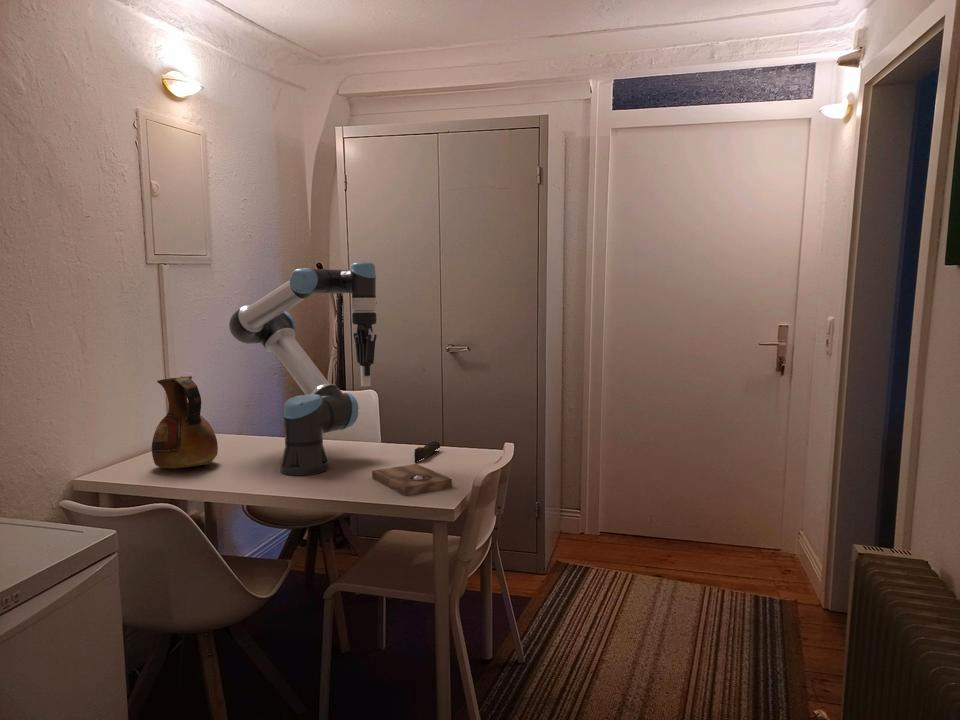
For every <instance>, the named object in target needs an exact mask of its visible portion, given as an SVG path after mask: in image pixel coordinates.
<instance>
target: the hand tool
mask: <svg viewBox="0 0 960 720" xmlns="http://www.w3.org/2000/svg"><path fill="white" fill-rule="evenodd" d="M438 448H440V449H441V444H440V442H439V441H435V440H432V441H430V442H429V443H428V444H425V445H423V447H422V446H421V447H420V446H418V447H417V448H415V449H414V452H413V453H414V456H413V457H414V463H415V462H417V461H419V460H421V459H423V458H425V459H426V458H427V457H429V456H430V455H432V454H434V453H435V452H434V451H435V450H436V449H438ZM433 452H434V453H433ZM431 453H432V454H431ZM428 455H429V456H428ZM426 456H427V457H426ZM417 463H418V462H417Z"/></svg>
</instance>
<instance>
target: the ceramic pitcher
mask: <svg viewBox="0 0 960 720" xmlns="http://www.w3.org/2000/svg"><path fill="white" fill-rule="evenodd" d="M156 382H157V383H158V384H159V385H160V386H161V387H162V388H163V389H164V391H165V393H166V398H167V401H168V402H167V403H168V410H167V414H166V415H165V416H164V417H163V418H162V419H161V420H160V421H159V422H158V425H157V426H156V428H155V431H154V434H153V437H152V442H151V455H152V459H153V463H154V465H155V466H156V467H159V468H165V469H185V468H190V467H191V468H192V467H198V466H202V465H208V464H211V463H212V462H213V461H214V460H215V458H216V457H217V455H218V448H219V447H218V439H217V436H216V433H215V431H214V429H213V428H212V426H211V424H210V423H209V422H208V420H207V419H205V418H204V417H203V415H201V411H202V396H201V394H200V390H199V387H198V385H197V384H196V382H195V381H194V380H193V376H192V375H188V376H182V375H181V376H179V377H174V378H173V377H171V378H164V379H160V380H156Z"/></svg>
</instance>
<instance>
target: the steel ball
mask: <svg viewBox="0 0 960 720" xmlns="http://www.w3.org/2000/svg"><path fill="white" fill-rule="evenodd" d="M413 479H414V480H419V479H423V477H422V476H420V475H417V476H415V477H414V478H413Z"/></svg>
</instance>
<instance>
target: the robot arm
mask: <svg viewBox="0 0 960 720" xmlns="http://www.w3.org/2000/svg"><path fill="white" fill-rule="evenodd" d="M376 278H377V274H376V266H375V264H374V263H373V262H366V261H365V262H352V263H351V265H350V269H326V268H325V269H324V268H322V269H321V268H309V267H303V268H296V269H295V270H293V271H292V272H291V274H290V276H289V280H288V281H286V282H284V283H283V284H281V285H280V286H278V287H277V288H275V289H274V290H272V291H271V292H269V293H268V294H266V295H265V296H263V297H261V298H260V299H258V300H257V301H255V302H253V303H252V304H251V305H249V304H247V305H246V304H245V305H243V306H242V307H240V308H238V309H237V310H236V311H235V312H234V313H232V315H231V316H230V319H229V325H228V328H229V331H230V333H231V335H232V336H233V338H234V339H236V340H237V341H238V342H240V343H242V344H249V345H250V344H251V345H252V344H261V345H262V346H263V347H264V349H265V350H266V351H267V352H268V353H273V354H274V355H275V356H276V357H277V359H278V360H279V361H280V362H281V364H282V365H283V367H284V368H285V369H286V371H287V372H288V373H289V375H290V377H291V378H292V379H293V380H294V382H295V383H296V384H297V385H298V386H299V389H300V390H301V391H302V392H303V394H300V395H296V396H294V397H293V396H292V397H290V398H289V399H287V400H285V402H284V405H283V406H284V407H283V419H284V420H283V423H284V449H283V454H282V457H281V460H280V465H279V469H280V470H279V471H280V473H281V474H284V475H289V476H309V475H310V476H311V475H316V474H317V475H318V474H320V473H324V472H326V471H328V470H329V469H330V460H329V458H328V456H327V453H326V449H325V447H324V441H323V440H324V438H323V437H324V435H323V434H326V433H331V432H335V431H341V430H345V429H347V428H351V427H352V426H353V425H354V424H355V423H356V422H357V420H358V417H359V408H360V407H359V404H358V401H357V398H356V397H355V396H354V395H353V394H352V393H348V392H343V391H342V390H341V389H340V388H339V387H338V385H337V384H334V383H330V382H329V381H328V380H327V379H326V377H325V376H324V374H323V373H322V372H321V370H319V369H320V368H318V367H317V365H316V364H315V363H314V362H313V360H312V359H311V358H310V356H309V355H308V354H307V352H306V351H305V350H304V349H303V347H302V346H301V345H300V343H299V342H298V340H297V339H296V325H295V321H294V318H293V317H292V315H291V314H290V313H289V312H288V310H290V309H292V308H293V307H294V306H296V305H298V304H300V303H301V302H303V301H304V300H306V299H308V298H309V297H311V296H312V295H314V294H333V295H335V294H336V295H338V294H351V311H353V312H352V316H351V317H352V319H351V320H352V322H351V323H352V325H357V326H356V332H354V333H353V338H354V339H353V340H354V345H355V352H356V362H357V364H358V363H359V366H360V386H361V387H371V386H372V381H371V378H372V377H371V366H372V365H374V363H375V349H376V341H377V334H376V333H374V330H373V325H376V324H377V313H376V312H375V311H376V310H377V303H378V302H377V296H376V295H377V294H376V293H377V291H376V289H377V287H376V283H377V281H376V280H377V279H376Z"/></svg>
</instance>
